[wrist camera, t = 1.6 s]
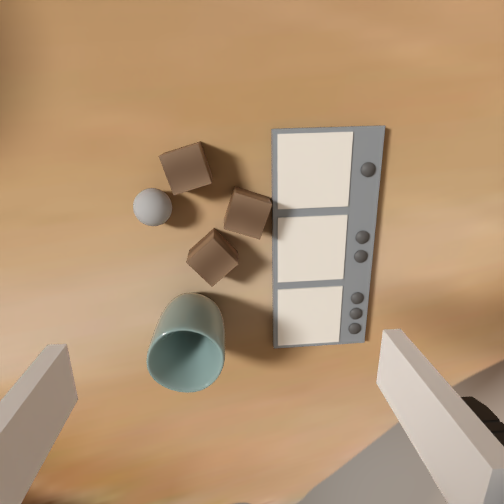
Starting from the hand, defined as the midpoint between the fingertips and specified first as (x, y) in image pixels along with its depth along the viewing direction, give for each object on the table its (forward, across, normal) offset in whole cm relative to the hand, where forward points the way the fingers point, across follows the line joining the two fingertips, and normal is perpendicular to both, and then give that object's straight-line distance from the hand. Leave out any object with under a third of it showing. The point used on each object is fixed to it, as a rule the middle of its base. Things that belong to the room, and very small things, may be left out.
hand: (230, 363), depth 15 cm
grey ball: (+27, -8, +2) cm, 29 cm away
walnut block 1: (+28, -4, +6) cm, 28 cm away
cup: (+28, -5, -12) cm, 31 cm away
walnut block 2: (+28, -2, -4) cm, 28 cm away
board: (+28, +11, -4) cm, 30 cm away
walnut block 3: (+28, +2, +1) cm, 28 cm away
